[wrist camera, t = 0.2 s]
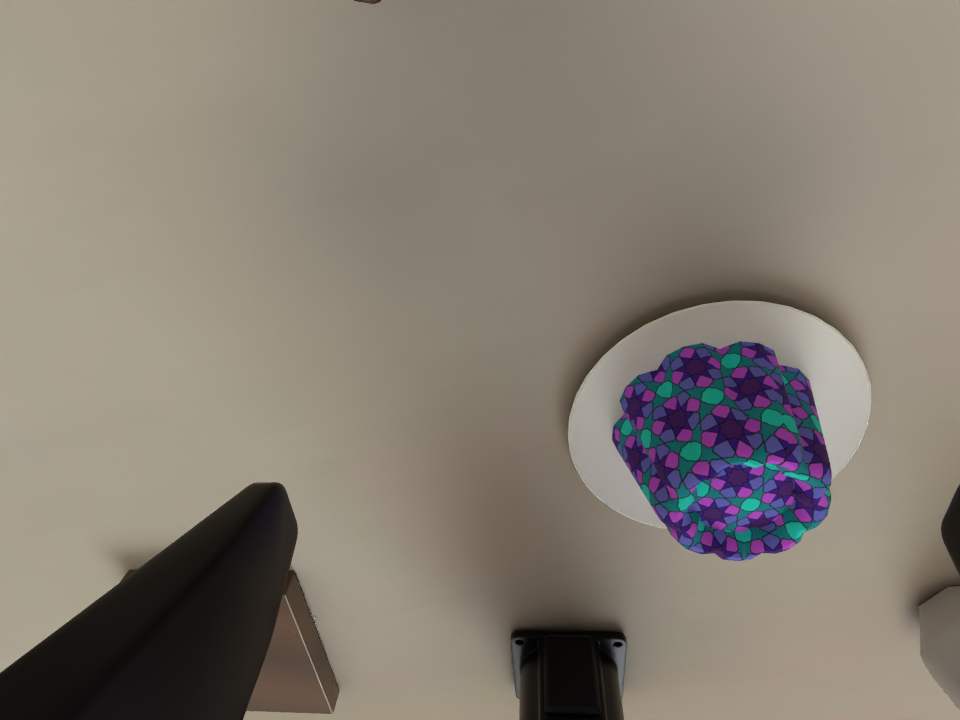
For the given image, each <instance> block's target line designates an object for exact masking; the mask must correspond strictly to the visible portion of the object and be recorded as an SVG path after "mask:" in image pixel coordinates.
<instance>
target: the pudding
mask: <svg viewBox="0 0 960 720" xmlns="http://www.w3.org/2000/svg"><path fill="white" fill-rule="evenodd" d="M871 406H872V402H871V384H870V381H869V377H868V374H867V371H866V367H865V364H864V363H863V361H862V359H861V358H860V356H859V354H858V353H857V351H856V350H855V348H854V346H853V345H852V344H851V343H850V342H849V341H848V340H847V339H846V338H845V337H844V336H843V335H842V334H841V333H840V332H839V331H838V330H837V329H835V328H834V327H832V326H830V325H829V324H827V323H826V322H824V321H822V320H821V319H819V318H818V317H816V316H814V315H811V314H809V313H806V312H803V311H801V310H798V309H795V308H793V307H790V306H785V305H780V304H774V303H769V302H763V301H724V302H716V303H708V304H701V305H698V306H694V307H690V308H687V309H683V310H680V311H676V312H673V313H670V314H668V315H666V316H664V317H661V318H659V319H657V320H654V321H652V322H650V323H648V324H646V325H644V326H642V327H641V328H639V329H638V330H636V331H634V332H633V333H631V334H630V335H628V336H627V337H625V338H623V339H622V340H621V341H620V342H618V343H617V344H616V345H615V346H614V347H613V348H612V349H610V350H609V351H608V352H607V353H606V354H605V355H604V356H602V357H601V359H600V360H599V361H598V362H597V364H596V365H595V366H594V367H593V368H592V370H591V371H590V372H589V373H588V375H587V376H586V378H585V379H584V381H583V383H582V385H581V387H580V389H579V390H578V392H577V394H576V396H575V399H574V402H573V406H572V409H571V412H570V415H569V425H568V442H569V449H570V455H571V458H572V460H573V463H574V466H575V468H576V471H577V473H578V474H579V476H580V477H581V479H582V480H583V482H584V483H585V485H586V486H587V488H588V489H589V490H590V491H591V492H592V493H593V494H594V495H595V496H596V497H597V498H598V499H599V500H600V501H602V502H603V503H605V504H606V505H607V506H609V507H610V508H612V509H613V510H615V511H616V512H618V513H620V514H622V515H624V516H626V517H628V518H630V519H632V520H635V521H638V522H641V523H644V524H647V525H650V526H653V527H658V528H664V529H668V530H669V532H670V534H671V535H672V536H673V537H674V538H675V539H676V540H677V541H678V542H679V543H680V544H681V545H682V546H684V547H685V548H686V549H688V550H691V551H693V552H696V553H700V554H709V553H715V554H716V555H718V556H719V557H720V558H722V559H725V560H733V561H741V560H748V559H752V558H753V557H755V556H757V555H759V554H760V553H779V552H782V551H785V550H788V549H790V548H791V547H793V546H794V545H795V544H797V543H798V542H800V540H801V538H802V535H803V533H804V532H806V531H808V530H810V529H813V528H815V527H817V526H818V525H819V524H820V523H821V522H822V521H823V520H824V519H825V517H826V516H827V514H828V510H829V507H830V502H831V493H830V490H829V487H830V485H831V481H832V480H833V479H834V478H835V477H836V476H837V474H838V473H839V472H840V471H841V470H842V469H843V468H844V467H845V466H846V465H847V463H848V462H849V460H850V459H851V457H852V456H853V455H854V453H855V452H856V450H857V449H858V447H859V445H860V443H861V440H862V438H863V436H864V434H865V431H866V429H867V427H868V422H869V417H870V411H871Z"/></svg>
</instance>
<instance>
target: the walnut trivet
mask: <svg viewBox="0 0 960 720" xmlns="http://www.w3.org/2000/svg"><path fill="white" fill-rule="evenodd" d="M134 572H135V571H128V572H127V573H126V575H125V576H124V577H123V579H122V580H121V582H122V581H123V580H124V579H126V578H127V577H128V576H130V575H131V574H132V573H134ZM338 694H339V689H338V686H337V683H336V681H335V678H334V676H333V673H332V670H331V668H330V665H329V662H328V660H327V657H326V654H325V652H324V649H323V646H322V644H321V641H320V638H319V636H318V633H317V630H316V628H315V625H314V622H313V620H312V617H311V614H310V612H309V609H308V606H307V604H306V601H305V598H304V596H303V593H302V590H301V588H300V585H299V583H298V580H297V577H296V575H295V572H289V573H288V577H287V581H286V585H285V589H284V593H283V597H282V601H281V605H280V609H279V613H278V617H277V621H276V625H275V628H274V632H273V635H272V639H271V642H270V645H269V648H268V651H267V654H266V657H265V660H264V663H263V666H262V668H261V671H260V674H259V677H258V679H257V682H256V685H255V688H254V690H253V693H252V696H251V699H250V701H249V704H248V707H247V710H246V711H267V712H295V713H323V714H333V712H334V709H335V705H336V701H337V698H338Z"/></svg>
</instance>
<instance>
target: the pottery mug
mask: <svg viewBox="0 0 960 720" xmlns="http://www.w3.org/2000/svg"><path fill="white" fill-rule="evenodd" d="M354 1H358V2H364V3H370V4H374V3H378V2H380V1H381V0H354Z"/></svg>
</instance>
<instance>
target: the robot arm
mask: <svg viewBox="0 0 960 720" xmlns="http://www.w3.org/2000/svg"><path fill="white" fill-rule="evenodd" d="M941 533H942V538H943V541H944V544H945V546H946V548H947V550H948V552H949V554H950V556H951V559H952V561H953V563H954V565H955V567H956V569H957V571H958V573H959V575H960V485H959V486H958V488H957V490H956V493H955V495H954V497H953V499H952V501H951V503H950V505H949V508H948V510H947V512H946V514H945V516H944V518H943V521H942V525H941ZM297 534H298V527H297V522H296V518H295V515H294V513H293V510H292V507H291V504H290V501H289V498H288V495H287V492H286V490H285V488H284V486H283V485H282V484H280V483H276V482H271V483H253V484H251V485H249V486H248V487H246V488H245V489H244V490H242V491H241V492H240V493H238V494H237V495H236V496H234V497H233V498H232V499H230V500H229V501H228V502H226V503H225V504H224V505H222V506H221V507H220V508H218V509H217V510H216V511H214V512H213V513H212V514H210V515H209V516H208V517H206V518H205V519H204V520H203V521H201V522H200V523H199V524H197V525H196V526H195V527H193V528H192V529H191V530H189V531H188V532H187V533H185V534H184V535H183V536H181V537H180V538H179V539H177V540H176V541H175V542H173V543H172V544H171V545H169V546H168V547H167V548H165V549H164V550H163V551H161V552H160V553H159V554H157V555H156V556H155V557H153V558H152V559H151V560H149V561H148V562H147V563H145V564H144V565H143V566H141V567H140V568H139V569H138V570H136V571H135V572H134V573H132V574H131V575H130V576H128V577H127V578H126V579H124V580H123V581H122V582H120V583H119V584H118V585H116V586H115V587H114V588H112V589H111V590H110V591H108V592H107V593H106V594H104V595H103V596H102V597H100V598H99V599H98V600H96V601H95V602H94V603H92V604H91V605H90V606H88V607H87V608H86V609H84V610H83V611H82V612H80V613H79V614H78V615H76V616H75V617H74V618H72V619H71V620H70V621H69V622H67V623H66V624H65V625H63V626H62V627H61V628H59V629H58V630H57V631H55V632H54V633H53V634H51V635H50V636H49V637H47V638H46V639H45V640H43V641H42V642H41V643H39V644H38V645H37V646H35V647H34V648H33V649H31V650H30V651H29V652H27V653H26V654H25V655H23V656H22V657H21V658H19V659H18V660H17V661H15V662H14V663H13V664H11V665H10V666H9V667H7V668H6V669H5V670H3V671H2V672H1V673H0V720H243V718H244V715H245V712H246V710H247V707H248V704H249V701H250V699H251V696H252V693H253V690H254V688H255V685H256V682H257V679H258V677H259V674H260V671H261V668H262V666H263V663H264V660H265V657H266V654H267V651H268V648H269V645H270V642H271V639H272V635H273V632H274V628H275V625H276V621H277V617H278V613H279V609H280V605H281V601H282V597H283V593H284V589H285V585H286V581H287V577H288V573H289V569H290V565H291V561H292V557H293V553H294V549H295V545H296V541H297ZM511 648H512V659H513V670H514V681H515V692H516V697H517V698H519V699H520V717H519V720H624V716H623V708H622V701H621V700H622V697H623V685H624V673H625V661H626V649H627V642H626V637H625V635H624V634H622V633H618V632H566V631H515V632H513V633H512V634H511Z"/></svg>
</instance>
